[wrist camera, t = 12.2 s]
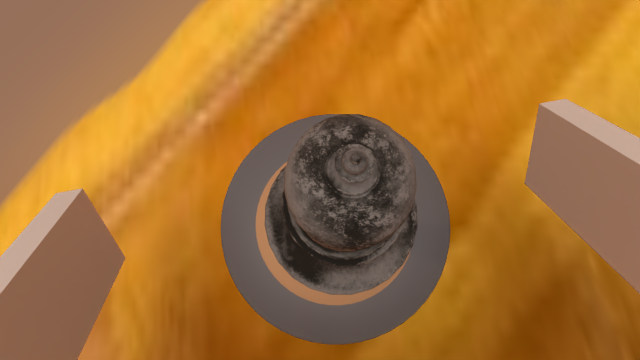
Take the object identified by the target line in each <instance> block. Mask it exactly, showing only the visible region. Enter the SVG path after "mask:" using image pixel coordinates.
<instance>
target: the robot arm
mask: <svg viewBox="0 0 640 360" xmlns="http://www.w3.org/2000/svg"><path fill="white" fill-rule="evenodd" d="M525 184H526V185H527V186H528V187H529V188H530V189H531V190H532V191H533V192H534V193H535V194H536V195H537V196H538V197H539V198H540V199H541V200H542V201H543V202H545V203H546V204H547V205H548V206H549V207H550V208H551V209H552V210H553V211H554V212H555V213H556V214H557V215H558V216H559V217H560V218H561V219H562V220H563V221H564V222H565V223H566V224H567V225H569V226H570V227H571V228H572V229H573V230H574V231H575V232H576V233H577V234H578V235H579V236H580V237H581V238H582V239H583V240H584V241H585V242H586V243H587V244H588V245H589V246H590V247H591V248H593V249H594V250H595V251H596V252H597V253H598V254H599V255H600V256H601V257H602V258H603V259H604V260H605V261H606V262H607V263H608V264H609V265H610V266H611V267H612V268H613V269H614V270H615V271H616V272H618V273H619V274H620V275H621V276H622V277H623V278H624V279H625V280H626V281H627V282H628V283H629V284H630V285H631V286H632V287H633V288H634V289H635V290H636V291H637V292H638V293H639V294H640V138H638V137H636V136H635V135H633V134H631V133H629V132H627V131H625V130H623V129H621V128H620V127H618V126H616V125H614V124H612V123H610V122H608V121H606V120H605V119H603V118H601V117H599V116H597V115H595V114H593V113H591V112H590V111H588V110H586V109H584V108H582V107H580V106H578V105H576V104H575V103H573V102H571V101H569V100H567V99H562V100H557V101H552V102H546V103H541V104H539V108H538V114H537V119H536V125H535V130H534V136H533V141H532V147H531V152H530V158H529V163H528V168H527V174H526V179H525ZM124 260H125V256H124V255H123V253H122V252H121V250H120V248H119V247H118V245H117V243H116V242H115V240H114V239H113V237H112V235H111V234H110V232H109V230H108V229H107V227H106V226H105V224H104V222H103V221H102V219H101V217H100V216H99V214H98V213H97V211H96V209H95V208H94V206H93V205H92V203H91V201H90V200H89V198H88V196H87V195H86V193H85V192H84V190H83V189H77V190H72V191H67V192H61V193H56V194H55V195H54V196H53V197H52V198H51V200H50V201H49V202H48V203H47V204H46V205H45V206H44V208H43V209H42V210H41V211H40V212H39V213H38V215H37V216H36V217H35V218H34V219H33V220H32V221H31V223H30V224H29V225H28V226H27V227H26V228H25V229H24V231H23V232H22V233H21V234H20V235H19V236H18V237H17V239H16V240H15V241H14V242H13V243H12V244H11V245H10V247H9V248H8V249H7V250H6V251H5V252H4V253H3V255H2V256H1V257H0V360H77V359H78V357H79V355H80V353H81V351H82V349H83V347H84V344H85V342H86V340H87V338H88V336H89V334H90V332H91V330H92V328H93V325H94V323H95V321H96V319H97V317H98V315H99V313H100V311H101V309H102V306H103V304H104V302H105V300H106V298H107V296H108V294H109V292H110V290H111V287H112V285H113V283H114V281H115V279H116V277H117V275H118V273H119V271H120V268H121V266H122V264H123V262H124Z"/></svg>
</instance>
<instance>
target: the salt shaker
mask: <svg viewBox="0 0 640 360" xmlns="http://www.w3.org/2000/svg"><path fill="white" fill-rule="evenodd" d="M416 190H417V181H416V167H415V164H414V161H413V158H412V155H411V152H410V150H409V149H408V147H407V146H406V144H405V142H404V141H403V139H402V138H401V137H400V136H399V135H398V134H397V133H396V132H395V131H394V130H393V129H392V128H391V127H390V126H388V125H386V124H384V123H382V122H380V121H379V120H377V119H375V118H371V117H367V116H363V115H360V114H341V115H338V116H334V117H330V118H326V119H324V120H323V121H321V122H319V123H317V124H315V125H314V126H312V127H311V128H310V129H309V130H308V131H307V132H305V133H304V134H303V135H302V136H301V137H300V138H299V140H298V141H297V143H296V145H295V146H294V148H293V150H292V151H291V153H290V155H289V158H288V161H287V165H286V166H285V167H284V168H283V169H282V170H281V171H280V173H279V175H278V176H277V178H276V179H275V181H274V183H273V184H272V186H271V188H270V192H269V195H268V198H267V201H266V205H265V229H266V234H267V238H268V243H269V246H270V248H271V249H272V251H273V253H274V255H275V257H276V259H277V261H278V263H279V264H280V265H281V266H282V267H283V268H284V269H285V270H286V271H287V272H288V273H289V275H290V276H291V277H292V278H294V279H295V280H297V281H299V282H300V283H302V284H303V285H305V286H307V287H308V288H310V289H313V290H316V291H320V292H323V293H327V294H330V295H353V294H356V293H360V292H364V291H368V290H371V289H373V288H375V287H376V286H378V285H380V284H381V283H383V282H385V281H387V280H388V279H390V278H391V277H392V275H393V274H394V273H395V272H396V271H397V270H398V269H399V268H400V267H401V266H402V265H403V264H404V262H405V260H406V258H407V256H408V255H409V253H410V251H411V249H412V247H413V244H414V240H415V235H416V231H417V226H418V224H417V205H416V202H415V194H416Z"/></svg>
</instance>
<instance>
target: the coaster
mask: <svg viewBox="0 0 640 360" xmlns="http://www.w3.org/2000/svg"><path fill="white" fill-rule="evenodd" d="M338 115H341V114H328V115H319V116H312V117H309V118H305V119H301V120H298V121H295V122H293V123H290V124H288V125H286V126H284V127H282V128H280V129H278V130H276V131H275V132H273V133H272V134H270V135H269V136H268V137H266V138H265V139H263V140H262V141H261V142H260V143H259V144H258V145H257V146H256V147H255V148H254V149H252V151H251V152H250V153H249V154H248V155H247V157H246V158H245V159H244V160H243V162H242V163H241V165H240V166H239V168H238V169H237V171H236V173H235V174H234V177H233V179H232V181H231V183H230V185H229V188H228V191H227V194H226V197H225V200H224V205H223V210H222V218H221V238H222V247H223V252H224V257H225V261H226V264H227V267H228V269H229V272H230V275H231V277H232V279H233V281H234V283H235V285H236V287H237V288H238V290H239V291H240V293H241V294H242V296H243V297H244V299H245V300H246V301H247V302H248V304H249V305H250V306H251V307H252V308H253V309H254V310H255V311H256V312H257V313H258V314H259V315H260V316H261V317H263V318H264V319H265V320H266V321H267V322H269V323H270V324H272V325H273V326H275V327H277V328H278V329H280V330H281V331H283V332H286V333H288V334H290V335H292V336H294V337H297V338H300V339H304V340H307V341H310V342H316V343H323V344H349V343H357V342H362V341H365V340H369V339H372V338H375V337H378V336H380V335H382V334H385V333H387V332H389V331H391V330H392V329H394V328H396V327H397V326H399V325H400V324H402V323H403V322H405V321H406V320H407V319H408V318H409V317H411V316H412V315H413V314H414V313H415V312H416V311H417V310H418V309H419V308H420V307H421V306H422V305H423V304H424V302H425V301H426V300H427V298H428V297H429V295H430V294H431V293H432V291H433V290H434V288H435V286H436V284H437V282H438V280H439V278H440V276H441V274H442V271H443V268H444V265H445V262H446V259H447V254H448V249H449V240H450V220H449V211H448V206H447V201H446V198H445V195H444V192H443V189H442V186H441V184H440V182H439V180H438V178H437V176H436V174H435V172H434V170H433V169H432V167H431V166H430V164H429V163H428V161H427V160H426V159H425V158H424V156H423V155H422V154H421V153H420V152H419V151H418V149H417V148H415V147H414V146H413V145H412V144H411V143H410V142H409V141H408V140H407V139H405V138H404V137H402V136H401V135H400V134H398V133H397V132H396V133H397V134H398V135H399V136H400V137H401V138H402V139H403V141H404V142H405V144H406V146H407V147H408V149H409V150H410V152H411V155H412V158H413V161H414V164H415V167H416V181H417V190H416V194H415V202H416V205H417V224H418V226H417V231H416V235H415V240H414V244H413V247H412V249H411V251H410V253H409V255H408V256H407V258H406V260H405V262H404V264H403V265H402V266H401V267H400V268H399V269H398V270H397V271H396V272H395V273H394V274H393V275H392V277H391V278H390V279H388V280H387V281H385V282H383V283H381V284H380V285H378V286H376V287H375V288H373V289H371V290H368V291H364V292H360V293H356V294H353V295H330V294H327V293H323V292H320V291H316V290H313V289H310V288H308V287H307V286H305V285H303V284H302V283H300V282H299V281H297V280H295V279H294V278H292V277H291V276H290V275H289V273H288V272H287V271H286V270H285V269H284V268H283V267H282V266H281V265H280V264H279V263H278V261H277V259H276V257H275V255H274V253H273V251H272V249H271V248H270V246H269V243H268V238H267V234H266V229H265V205H266V201H267V198H268V195H269V192H270V188H271V186H272V184H273V183H274V181H275V179H276V178H277V176H278V175H279V173H280V171H281V170H282V169H283V168H284V167H285V166H286V165H287V161H288V158H289V155H290V153H291V151H292V150H293V148H294V146H295V145H296V143H297V141H298V140H299V138H300V137H301V136H302V135H303V134H304V133H305V132H307V131H308V130H309V129H310V128H311V127H312V126H314V125H315V124H317V123H319V122H321V121H323V120H324V119H326V118H330V117H334V116H338Z"/></svg>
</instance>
